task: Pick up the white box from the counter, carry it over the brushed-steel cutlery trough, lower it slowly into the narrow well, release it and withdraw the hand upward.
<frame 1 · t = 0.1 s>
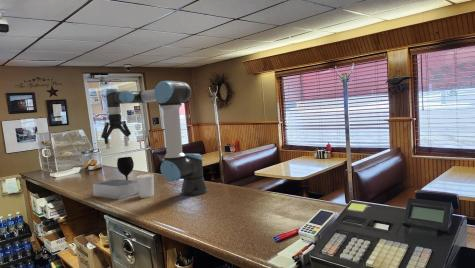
hand: (117, 147, 206), 28 cm above the counter, fingers open, 13 cm apart
steel trough: (116, 194, 199), on the counter
white box: (146, 196, 192), on the counter
wine glass: (127, 187, 218), on the counter
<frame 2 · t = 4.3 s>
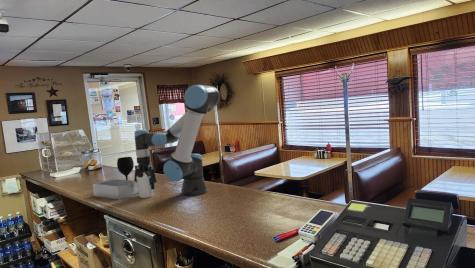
hand: (146, 194, 191), 1 cm above the counter, fingers closed on white box, 9 cm apart
white box: (146, 196, 192), on the counter, touching gripper
everything else where it was.
when the fingers open (4 cm above the counter, at t = 11.3 s): white box drops 2 cm, resting on steel trough.
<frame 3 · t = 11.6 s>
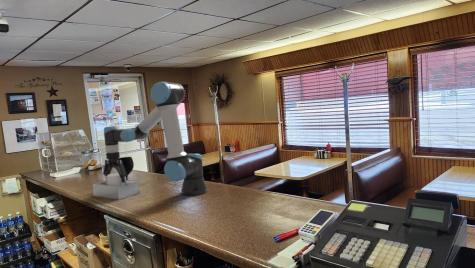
hand: (116, 186, 198), 5 cm above the counter, fingers open, 12 cm apart
white box: (117, 194, 198), resting on steel trough
everything else where it was.
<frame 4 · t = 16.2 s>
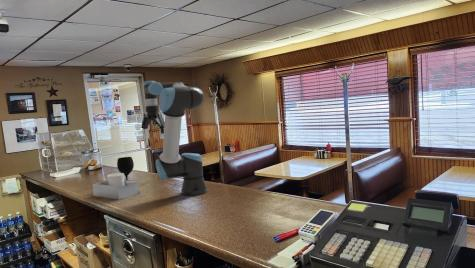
hand: (154, 138, 209), 32 cm above the counter, fingers open, 13 cm apart
nothing on the counter moved.
at the end: white box inside the target area on the steel trough (0.8 cm from its centre), point 0.4 cm above the steel trough's base; white box tilted 0°; the gripper is holding nothing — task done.
